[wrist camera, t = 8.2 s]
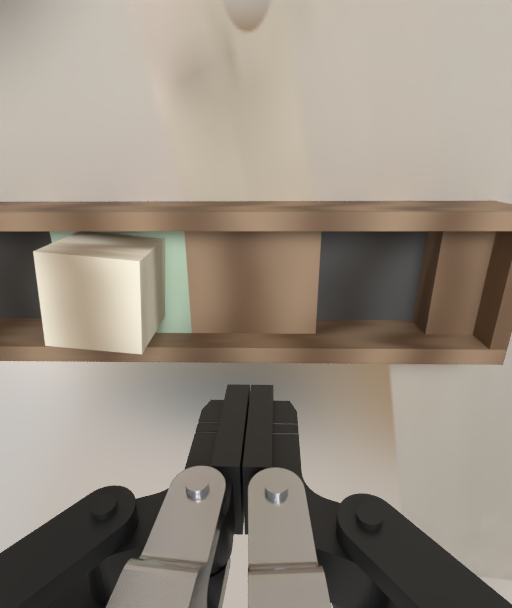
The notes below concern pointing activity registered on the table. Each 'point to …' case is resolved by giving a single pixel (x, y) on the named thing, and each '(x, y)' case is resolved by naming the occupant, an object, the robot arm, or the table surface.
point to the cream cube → (101, 291)
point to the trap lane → (288, 280)
